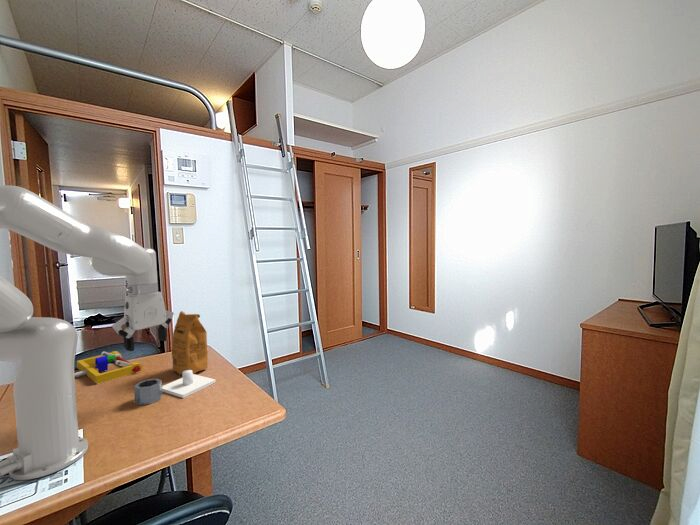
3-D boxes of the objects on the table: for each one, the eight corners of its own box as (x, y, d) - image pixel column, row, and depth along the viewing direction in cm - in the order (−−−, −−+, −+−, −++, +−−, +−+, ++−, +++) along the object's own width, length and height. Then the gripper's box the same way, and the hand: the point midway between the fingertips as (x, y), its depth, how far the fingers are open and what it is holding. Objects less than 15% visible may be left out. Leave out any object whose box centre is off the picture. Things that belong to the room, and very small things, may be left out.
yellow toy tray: (115, 342, 135) (142, 356, 117) (116, 356, 136) (143, 373, 117) (58, 354, 121) (79, 373, 102) (59, 370, 121) (81, 391, 103)
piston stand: (183, 398, 96) (182, 382, 96) (159, 390, 102) (158, 375, 101) (215, 382, 107) (215, 368, 107) (192, 376, 112) (191, 362, 112)
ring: (144, 406, 92) (143, 390, 91) (131, 402, 94) (130, 385, 94) (166, 396, 97) (165, 381, 97) (153, 392, 100) (152, 377, 100)
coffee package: (194, 362, 126) (191, 308, 124) (211, 369, 119) (209, 311, 117) (168, 371, 118) (165, 313, 116) (185, 378, 111) (182, 317, 109)
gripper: (118, 295, 85) (123, 356, 86) (178, 286, 100) (181, 338, 101) (103, 293, 88) (107, 352, 89) (163, 284, 103) (166, 335, 105)
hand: (147, 345), depth 95 cm, fingers open, 9 cm apart
